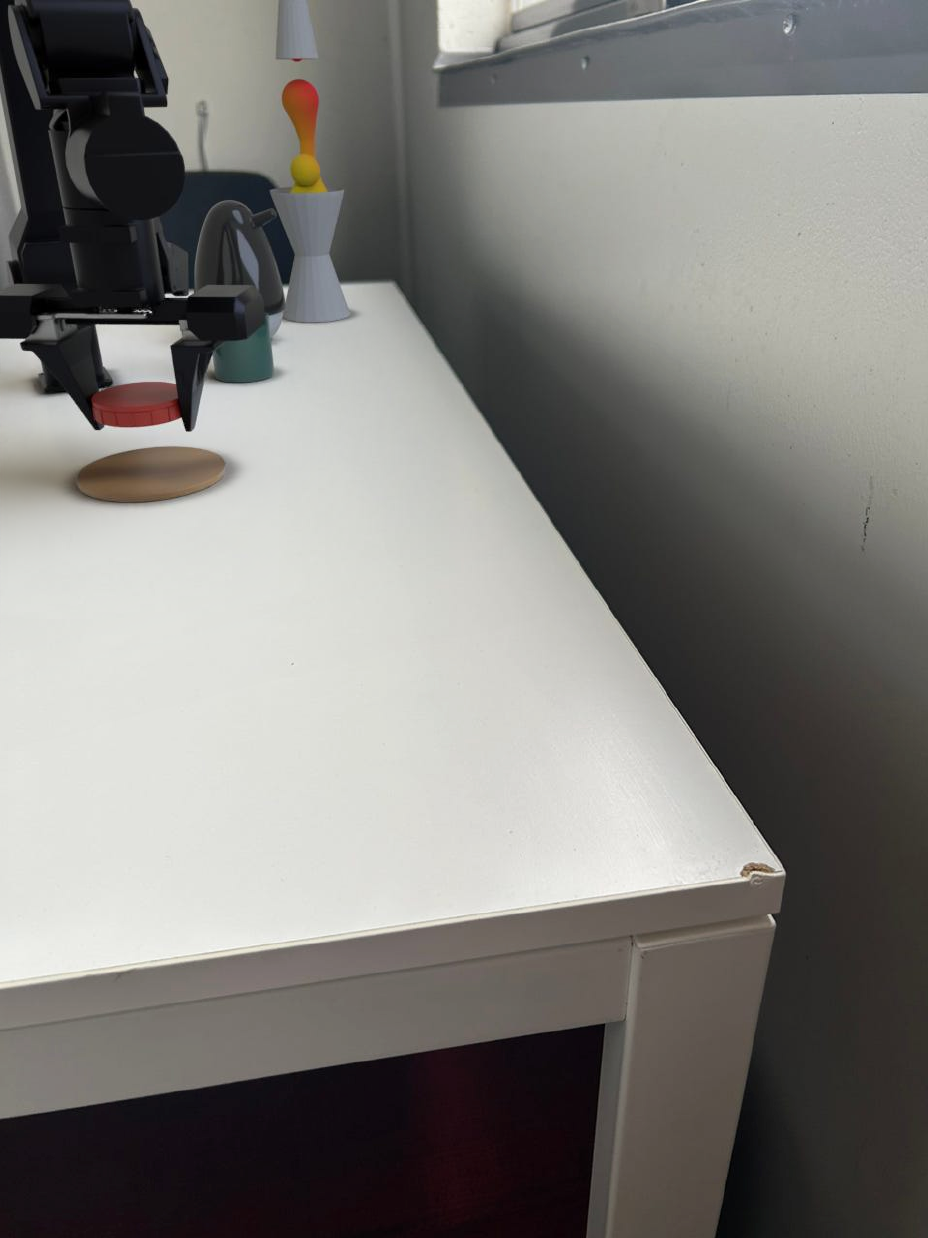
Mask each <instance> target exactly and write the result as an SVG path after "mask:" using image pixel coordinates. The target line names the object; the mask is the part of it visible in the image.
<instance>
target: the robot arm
mask: <svg viewBox="0 0 928 1238" xmlns="http://www.w3.org/2000/svg"><path fill="white" fill-rule="evenodd" d="M165 68H166V67H165V66H164V63H163V60H162V58H161V55H160V53H159V50H158V48H157V45H156V43H155V39H154V38H153V35H152V32H151V30H150V28H148V27H147V25H145V21H144V18H143V15H142V14H141V11H140V10H139V8H138V7H133V4H132V1H131V0H0V100H1V105H2V111H3V116H4V122H5V127H6V132H7V138H8V144H9V148H10V154H11V159H12V165H13V171H14V175H15V182H16V186H17V187H16V188H17V193H18V198H19V204H20V209H19V211H18V213H17V215H16V218H15V220H14V222H13V224H12V227H11V229H10V231H9V233H8V234H9V235H8V243H9V249H10V255H11V260H6V274H7V275H6V276H7V284H8V286H7V287H4V288H1V289H0V340H22V341H21V342H19V346H20V350H21V351H23V352H31V353H33V354H34V355H35V356H36V357H37V358H38V359H39V360H40V364H41V368H42V372H40V373H38V374H37V376H38V380H39V382H40V385H41V387H42V390H43V393H56V392H64V391H66V392H67V394H68V395H69V397H70V398H71V400H72V401H73V403H74V404H75V405H76V406H77V408H78V409H79V411H80V412H81V414H82V415H83V416H84V417H85V419H86V420H87V421H88V423H89V424H90V426H91V427H92V429H93V430H94V431H101V430H103V429H104V428H105V426H106V425H103V424H101V423H99V422H97V421H96V420H94V415H93V409H92V407H93V405H92V400H91V398H92V396H93V395H94V394H95V393H97V392H99V391H100V388H99V387H105V386H112V385H114V380H113V377H112V376H111V374H110V373H109V371H108V370H107V368H106V367H105V366H104V363H103V358H102V353H101V348H100V342H99V335H98V331H97V325H99V326H100V325H102V326H105V325H109V326H110V325H111V326H112V325H113V326H119V325H120V326H179V331H180V332H181V336H182V337H181V338H179V339H178V340H176V341H175V342H173V343H172V344H170V353H171V354H170V355H171V362H172V366H173V373H174V381H175V384H176V387H177V394H178V401H179V407H180V414H181V418H180V419H181V422H182V425H183V427H184V430H185V432H186V433H190V432H191V433H192V432H193V431H194V430H195V428H196V423H197V419H198V414H199V409H200V405H201V404H200V403H201V399H202V395H203V389H204V384H205V381H206V380H205V379H206V375H207V373H208V368H209V366H210V363H211V360H212V358H213V356H212V355H213V352H214V351H215V350H217V349H218V348H219V347H220V346H221V345H223V344H224V343H225V342H226V341H239V340H245V339H248V338H249V337H250V336H251V335H253V334H254V333H255V332H256V331H257V330H258V329H260V328H261V327H262V326H263V325H264V324H265V323H266V320H265V311H264V301H263V298H262V296H261V294H260V293H259V292H258V290H257V289H256V288H255V287H254V286H253V285H206V286H205V287H203V288H201V289H200V290H198V291H196V292H195V293H194V292H193V293H192V294H190V288H189V287H190V286H189V283H190V282H189V253H188V252H187V251H186V250H184V249H183V248H181V247H179V246H178V245H176V244H174V243H172V242H169V241H167V240H166V238H165V235H164V229H163V224H162V223H161V218H160V217H161V216H162V215H164V214H165V213H167V212H169V211H170V210H171V209H172V208H173V207H174V206H175V204H176V203H177V202H178V200H179V199H180V197H181V194H182V193H183V189H184V185H185V180H186V167H185V159H184V156H183V154H182V152H181V150H180V148H179V145H178V144H177V141H175V139H174V138H173V136H172V135H171V133H170V132H169V131H168V130H167V129H166V128H165V127H164V126H163V125H161V124H160V123H159V122H158V121H156V120H154V119H152V118H151V117H149V116H147V115H146V113H145V108H148V109H150V108H151V109H152V108H168V105H169V103H168V96H167V95H168V94H169V83H170V80H169V76H168V74H167V71H166V69H165ZM135 73H136V76H135ZM166 294H168V295H172V296H173V297H166Z"/></svg>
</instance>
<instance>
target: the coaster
mask: <svg viewBox="0 0 928 1238" xmlns="http://www.w3.org/2000/svg"><path fill="white" fill-rule="evenodd" d="M226 471H227V465H226V461H225V459H224V458H223V457H222V456H221V455H219V454H218V453H216V452H214V451H210V450H207V449H205V448H204V449H203V448H198V447H191V446H174V445H172V446H169V445H168V446H167V445H166V446H152V447H143V448H135V449H130V450H126V451H121V452H116V453H113V454H110V455H106V456H104V457H101V458H98V459H97V460H94V461H92V462H90V463H89V464H86V466H84V467H83V468H81V469H80V471H78V473H77V474H76V477H75V479H76V484H77V488H78V489H79V491H80V492H81V493H82V494H85V495H86V496H88V497H91V498H94V499H98V500H102V501H106V502H107V501H108V502H117V503H144V502H145V503H146V502H156V501H163V500H170V499H174V498H179V497H183V496H188V495H191V494H194V493H197V492H200V491H203V490H205V489H207V488H210V487H211V486H213V485H215V484H217V483H218V482H219V481H221V480H222V478H224V476H225V475H226Z"/></svg>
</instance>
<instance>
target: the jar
mask: <svg viewBox="0 0 928 1238" xmlns="http://www.w3.org/2000/svg"><path fill="white" fill-rule="evenodd" d="M265 320H266V323H265V324H264V325H263V326H262V327H261V328H260V329H258V330H257V331H256V332H255V333H254V334H253V335H251V336H250V337H249V338H248V339H245V340H239V341H226V342H225V343H224V344H223V345H221V346H220V347H219V348H218V349H217V350H215V351H214V352H213V355H212V363H213V371H214V377H215V379H216V380H218V381H220V382H224V383H233V384H235V383H236V384H240V383H241V384H243V383H254V382H261V381H263V380H264V381H265V380H267V379H270V378H272V377H273V376H274V375H275V366H274V355H273V345H272V338H271V334H270V324H269V315H268V313H266V312H265Z"/></svg>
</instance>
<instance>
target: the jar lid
mask: <svg viewBox="0 0 928 1238" xmlns="http://www.w3.org/2000/svg"><path fill="white" fill-rule="evenodd" d="M91 400H92V405H93V407H92V409H93V415H94V420H96V421H97V422H99V423H101V424H103V425H105V426H107V427H113V428H145V427H154V426H158V425H159V426H160V425H165V424H168V423H172V422H174V421H177V420H180V419H182V418H181V414H180V407H179V401H178V394H177V387H176V383H173V382H166V381H165V382H164V381H141V382H132V383H131V382H130V383H124V384H118V385H113V386H110V387H106V388H104V389H101V390H99V392H97V393H95V394H94V395H93V396H92V398H91Z"/></svg>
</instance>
